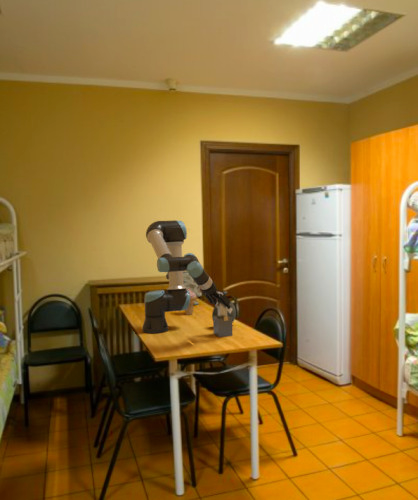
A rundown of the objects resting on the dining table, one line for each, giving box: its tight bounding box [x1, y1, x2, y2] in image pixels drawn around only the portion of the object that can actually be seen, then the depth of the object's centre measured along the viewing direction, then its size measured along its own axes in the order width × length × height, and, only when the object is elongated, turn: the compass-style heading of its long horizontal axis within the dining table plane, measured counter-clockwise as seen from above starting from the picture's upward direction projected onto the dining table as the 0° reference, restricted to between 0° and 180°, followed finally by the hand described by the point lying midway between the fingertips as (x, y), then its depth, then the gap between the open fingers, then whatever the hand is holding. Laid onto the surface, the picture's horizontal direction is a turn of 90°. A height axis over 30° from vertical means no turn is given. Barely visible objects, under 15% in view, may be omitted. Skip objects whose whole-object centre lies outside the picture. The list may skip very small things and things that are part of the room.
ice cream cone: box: [184, 289, 198, 316], centre depth 309 cm, size 11×11×20 cm
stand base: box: [212, 315, 233, 338], centre depth 246 cm, size 16×16×12 cm
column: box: [217, 299, 227, 318], centre depth 245 cm, size 4×4×20 cm
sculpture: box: [165, 271, 203, 306], centre depth 345 cm, size 20×25×30 cm
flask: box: [211, 291, 237, 324], centre depth 265 cm, size 12×17×22 cm
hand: (226, 310), depth 248 cm, fingers closed on column, 5 cm apart
